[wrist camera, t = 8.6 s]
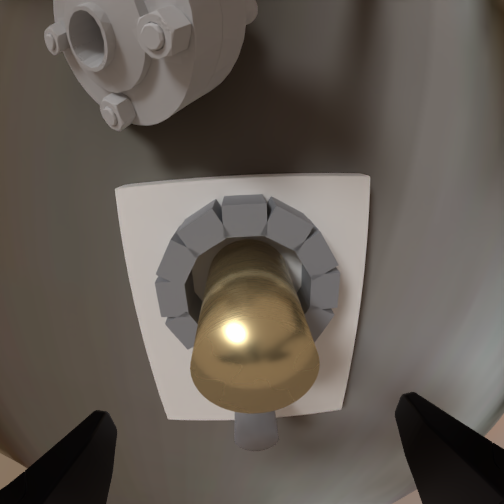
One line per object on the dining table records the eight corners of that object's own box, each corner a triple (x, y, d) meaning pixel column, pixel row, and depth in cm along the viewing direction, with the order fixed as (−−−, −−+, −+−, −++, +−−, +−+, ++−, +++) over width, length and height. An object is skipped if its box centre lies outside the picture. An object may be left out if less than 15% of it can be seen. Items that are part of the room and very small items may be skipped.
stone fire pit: (360, 173, 17) (416, 191, 11) (337, 397, 24) (357, 456, 17) (124, 184, 17) (71, 208, 11) (170, 406, 23) (158, 468, 17)
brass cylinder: (288, 237, 17) (324, 314, 9) (287, 309, 19) (314, 408, 11) (205, 241, 17) (180, 322, 9) (212, 312, 18) (199, 414, 11)
